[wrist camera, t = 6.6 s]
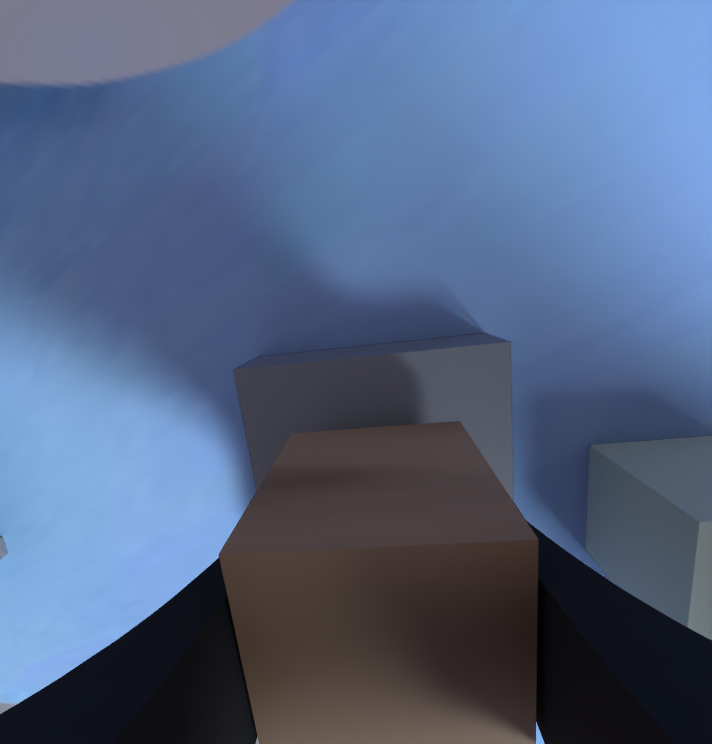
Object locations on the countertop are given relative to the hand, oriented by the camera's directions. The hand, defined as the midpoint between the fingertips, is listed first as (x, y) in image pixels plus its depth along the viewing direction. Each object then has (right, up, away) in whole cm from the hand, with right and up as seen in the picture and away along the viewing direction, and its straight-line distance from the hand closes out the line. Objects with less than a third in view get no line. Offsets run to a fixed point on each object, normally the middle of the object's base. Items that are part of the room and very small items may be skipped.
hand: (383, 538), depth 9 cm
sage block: (+12, -1, +5) cm, 13 cm away
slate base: (0, +1, +6) cm, 6 cm away
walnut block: (0, 0, +1) cm, 2 cm away
